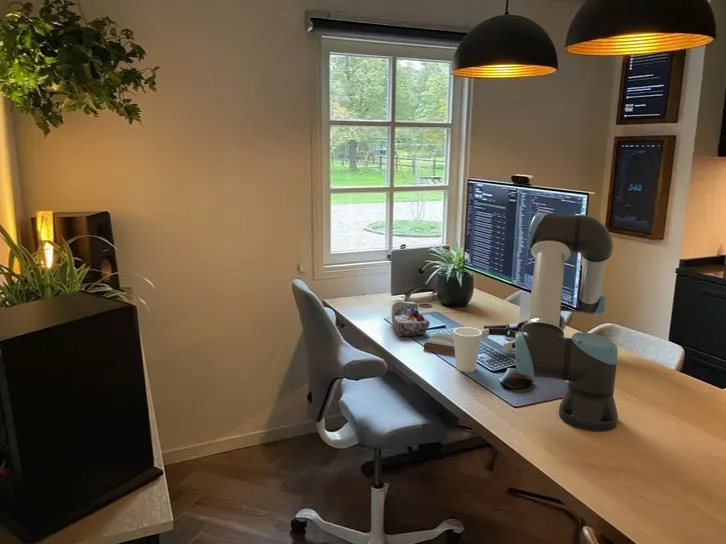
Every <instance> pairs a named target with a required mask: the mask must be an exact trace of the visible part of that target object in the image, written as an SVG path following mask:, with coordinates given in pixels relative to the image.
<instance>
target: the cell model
mask: <svg viewBox="0 0 726 544" xmlns="http://www.w3.org/2000/svg"><path fill="white" fill-rule="evenodd" d="M391 322H392V325H393V328H394V332H396V334H397V335H398V336H399V337H401V336H403V337H415V336H422V335H425V334H426V332H427V330H428V328H430V321H429V319H427V318H425V317H424V315H423V314H421V313H419V304H417V302H414V301H395V302H393V304H392V306H391Z"/></svg>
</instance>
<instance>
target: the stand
mask: <svg viewBox="0 0 726 544" xmlns="http://www.w3.org/2000/svg"><path fill="white" fill-rule="evenodd" d="M423 351H426V352H431V353H432V352H433V353H437V354H444V355H449V356H455V348H454V339H453V334H449V333H443V332H438V331H437V332H435V333H434V334H433V335H432V336H431V337H430V338H429V339H427V340H426V342H425V343H423Z"/></svg>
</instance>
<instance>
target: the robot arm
mask: <svg viewBox="0 0 726 544" xmlns="http://www.w3.org/2000/svg"><path fill="white" fill-rule="evenodd" d="M611 235H612V234H611V232H609V230H608V228H607V227H606V226H605V225H604V224H603V223H602V222H601V221H600V220H598V219H597V218H595V217H593V216H590V215H586V214H562V213H550V212H547V213H536V214H535V215H534V216H533V218H532V220H531V222H530V226H529V230H528V235H527V243H526V245H527V249H528V250H530V252H531V255H532V257H533V258H534V259H535V260H534V268H533V274H532V275H533V276H532V285H531V294H530V300H529V308H528V309H529V310H528V317H527V320H523V321H520V322H519V323H518V324H517V325H516V326H510V324H508V323H507V324H503V325H502V324H501V325H499V324H498V325H484V326H483V329H481V331H482V339H483V338H489V336H501V337H502V336H504V337H506V338H513V340H510V341H507V342H503V349H502V350H503V352H508V351H511V350H515V368H516V372H517V373H519V374H521V375H525V376H529V377H531V378H543V379H549V380H550V379H551V380H559V381H565V382H567V383H568V384H567V389H566V391H565V393H564V396H563V398H562V399H561V401H560V404H559V407H558V416H559V418H560V419H561V420H562V421H563V422H564V423H566V424H568V425H570V426H571V427H574V428H577V429H580V430H585V431H589V432H590V431H592V432H607V431H610V430H613V429H615V428H616V427H617V425H618V423H619V422H618V420H619V414H618V409H617V405H616V402H615V401H616V400H615V397H614V391H615V385H616V384H615V382H616V374H617V365H618V363H619V359H618V357H619V356H618V353H619V348H618V346H617V345H616V344H615V342H613V341H612V340H610V339H609V338H607V337H605V336H602V335H599V334H595V333H591V332H586V331H585V332H575V333H574V334H573V335H572V336H571V337H565V336H564V335H565V332H564V330H565V329H566V326H567V325H566V320H565V317H564V316H563V315H562V314H561V313H562V312H569V313H580V314H587V315H603V314H604V313H605V308H606V295H605V294H604V293H602V291H603V290H602V289H603V284H604V278H605V272H606V268H607V261H608V260H609V259H610V257H612V253H613V248H614V243H613V239H612V236H611ZM572 253H576V254H577V253H579V254H580V256H581V263H580V266H581V265H582V267H583V268H582V279H581V287H580V296H579V307H578V309H577V310H576V311H574V310H572V309H570V308H568V307H565V306H562V305H561V298H562V287H563V286H564V273H565V261H567V260H569V258H570V257H571V254H572ZM563 288H564V287H563Z"/></svg>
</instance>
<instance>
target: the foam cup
mask: <svg viewBox="0 0 726 544" xmlns="http://www.w3.org/2000/svg"><path fill="white" fill-rule="evenodd" d="M481 330H482V329H481ZM481 330H480V329H479V328H475V327H470V326H460V327H456V328H453V331H452V335H453V339H454V348H455V367H456V368H455V369H457V371H460V372H463V373H471V372H472V373H473V372H474V371H476V368H477V363H478V358H479V357H478V356H479V353H480V352H479V351H480V348H481V343H482V339H483V338H482V331H481Z"/></svg>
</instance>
